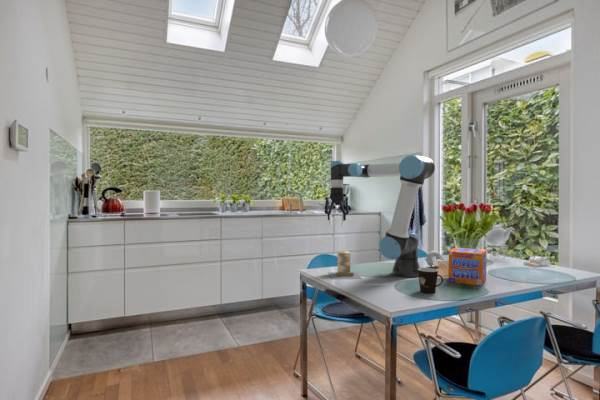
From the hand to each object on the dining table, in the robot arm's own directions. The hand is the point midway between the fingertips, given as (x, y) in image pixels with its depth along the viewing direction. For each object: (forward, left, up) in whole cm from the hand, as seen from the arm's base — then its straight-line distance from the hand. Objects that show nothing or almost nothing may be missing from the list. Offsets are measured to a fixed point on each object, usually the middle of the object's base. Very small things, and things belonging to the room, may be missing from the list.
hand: (336, 225), depth 215 cm
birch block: (-8, +18, -24) cm, 31 cm away
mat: (-9, +21, -25) cm, 34 cm away
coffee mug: (-51, +39, -25) cm, 69 cm away
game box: (-70, +9, -25) cm, 75 cm away
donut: (-55, -21, -25) cm, 64 cm away
